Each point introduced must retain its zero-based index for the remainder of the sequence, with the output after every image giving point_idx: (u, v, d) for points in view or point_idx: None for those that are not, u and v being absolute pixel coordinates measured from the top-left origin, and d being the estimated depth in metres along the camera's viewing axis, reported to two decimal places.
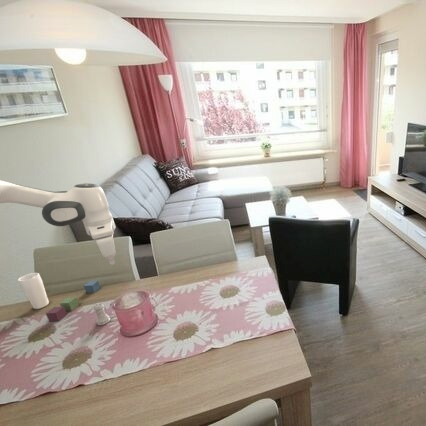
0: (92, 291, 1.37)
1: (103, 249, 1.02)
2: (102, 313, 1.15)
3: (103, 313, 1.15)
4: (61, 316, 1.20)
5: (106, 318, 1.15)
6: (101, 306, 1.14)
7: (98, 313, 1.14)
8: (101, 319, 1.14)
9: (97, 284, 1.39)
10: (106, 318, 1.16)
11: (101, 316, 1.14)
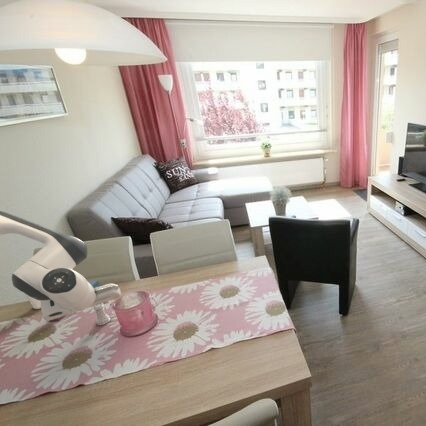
0: None
1: None
2: (102, 313, 1.15)
3: (103, 313, 1.15)
4: None
5: (106, 318, 1.15)
6: (101, 306, 1.14)
7: (98, 313, 1.14)
8: (101, 319, 1.14)
9: (97, 284, 1.39)
10: (106, 318, 1.16)
11: (101, 316, 1.14)
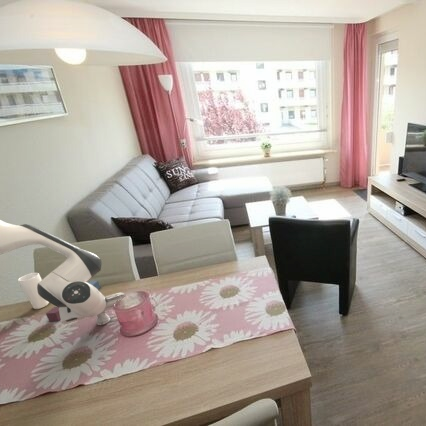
0: None
1: None
2: (102, 313, 1.15)
3: (103, 313, 1.15)
4: None
5: (106, 318, 1.15)
6: None
7: None
8: (101, 319, 1.14)
9: (97, 284, 1.39)
10: (106, 318, 1.16)
11: (101, 316, 1.14)
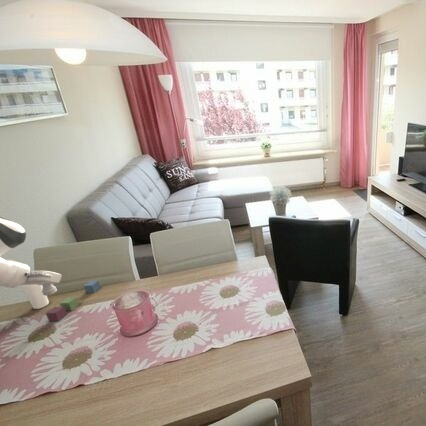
0: (92, 291, 1.37)
1: None
2: (45, 284, 1.15)
3: (47, 284, 1.15)
4: (61, 316, 1.20)
5: (49, 290, 1.15)
6: None
7: None
8: (44, 290, 1.15)
9: (97, 284, 1.39)
10: (49, 290, 1.15)
11: (44, 287, 1.15)
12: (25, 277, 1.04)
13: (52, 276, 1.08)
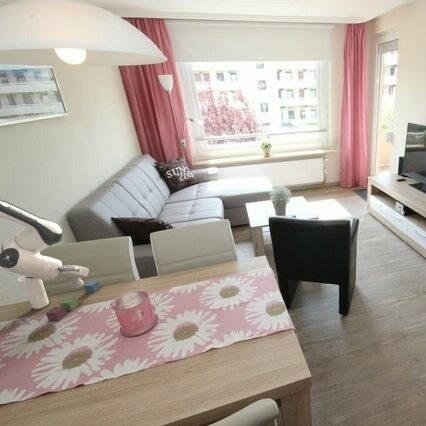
0: (92, 291, 1.37)
1: None
2: (74, 278, 1.28)
3: (75, 278, 1.28)
4: (61, 316, 1.20)
5: (77, 283, 1.28)
6: None
7: None
8: (72, 283, 1.28)
9: (97, 284, 1.39)
10: (77, 283, 1.29)
11: (73, 280, 1.28)
12: (58, 271, 1.17)
13: (81, 270, 1.21)
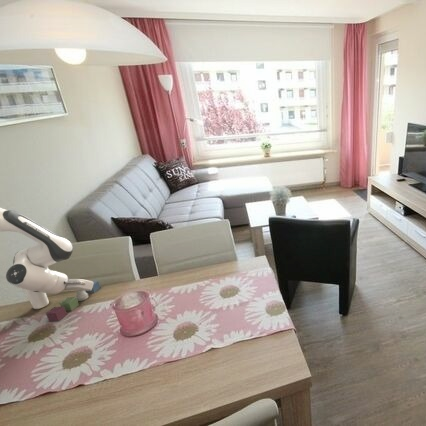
0: (92, 291, 1.37)
1: None
2: (79, 291, 1.30)
3: (80, 291, 1.31)
4: (61, 316, 1.20)
5: (82, 296, 1.31)
6: None
7: None
8: (78, 296, 1.30)
9: (97, 284, 1.39)
10: (82, 296, 1.31)
11: (78, 293, 1.30)
12: (64, 285, 1.19)
13: (86, 284, 1.24)
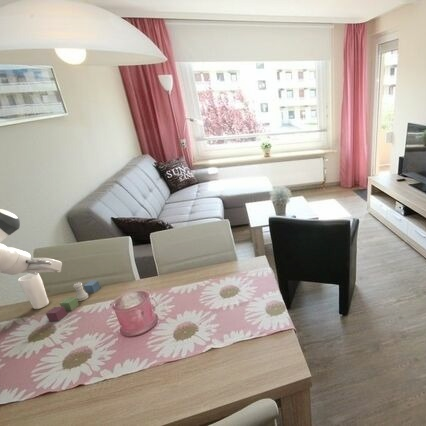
0: (92, 291, 1.37)
1: None
2: (79, 291, 1.30)
3: (80, 291, 1.31)
4: (61, 316, 1.20)
5: (82, 296, 1.31)
6: (78, 285, 1.30)
7: (76, 290, 1.30)
8: (78, 296, 1.30)
9: (97, 284, 1.39)
10: (82, 296, 1.31)
11: (78, 293, 1.30)
12: (26, 264, 1.05)
13: (53, 263, 1.09)
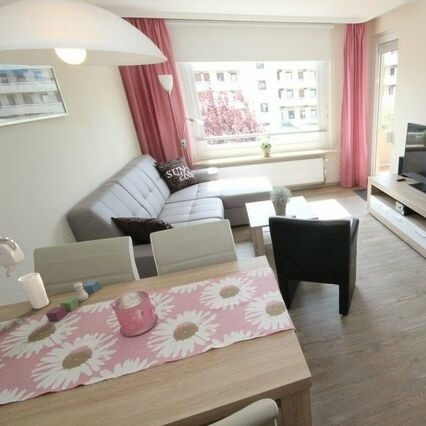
0: (92, 291, 1.37)
1: None
2: (79, 291, 1.30)
3: (80, 291, 1.31)
4: (61, 316, 1.20)
5: (82, 296, 1.31)
6: (78, 285, 1.30)
7: (76, 290, 1.30)
8: (78, 296, 1.30)
9: (97, 284, 1.39)
10: (82, 296, 1.31)
11: (78, 293, 1.30)
12: None
13: (16, 251, 0.93)
